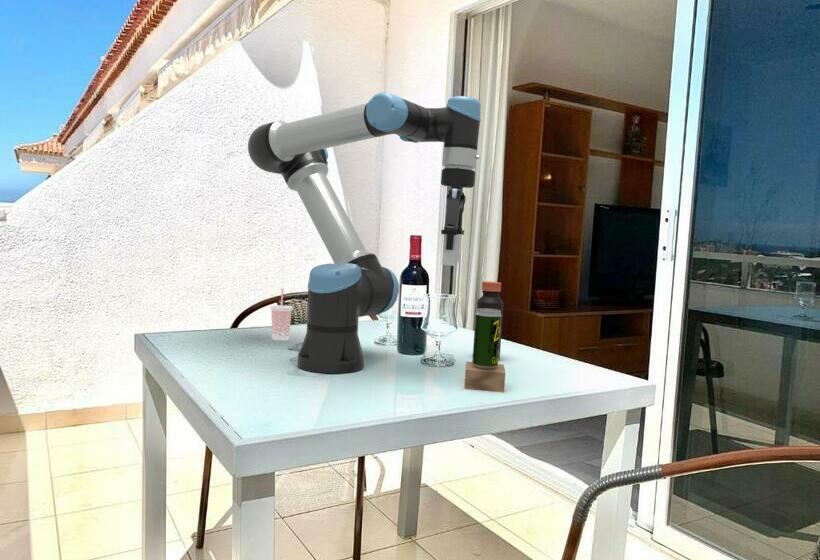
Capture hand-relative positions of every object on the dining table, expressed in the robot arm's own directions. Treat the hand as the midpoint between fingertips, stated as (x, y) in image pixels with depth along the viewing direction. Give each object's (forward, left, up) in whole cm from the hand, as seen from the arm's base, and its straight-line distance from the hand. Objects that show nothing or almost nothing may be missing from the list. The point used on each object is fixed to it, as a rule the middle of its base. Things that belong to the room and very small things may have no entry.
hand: (450, 263), depth 137 cm
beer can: (+9, -12, -21) cm, 25 cm away
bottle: (+10, +19, -25) cm, 33 cm away
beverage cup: (-47, +24, -25) cm, 59 cm away
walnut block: (+9, -12, -25) cm, 29 cm away
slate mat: (+6, -12, -25) cm, 28 cm away
